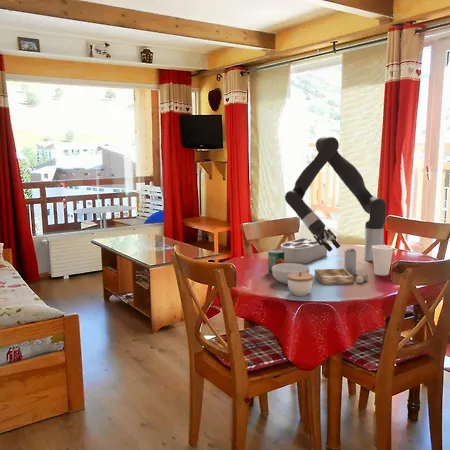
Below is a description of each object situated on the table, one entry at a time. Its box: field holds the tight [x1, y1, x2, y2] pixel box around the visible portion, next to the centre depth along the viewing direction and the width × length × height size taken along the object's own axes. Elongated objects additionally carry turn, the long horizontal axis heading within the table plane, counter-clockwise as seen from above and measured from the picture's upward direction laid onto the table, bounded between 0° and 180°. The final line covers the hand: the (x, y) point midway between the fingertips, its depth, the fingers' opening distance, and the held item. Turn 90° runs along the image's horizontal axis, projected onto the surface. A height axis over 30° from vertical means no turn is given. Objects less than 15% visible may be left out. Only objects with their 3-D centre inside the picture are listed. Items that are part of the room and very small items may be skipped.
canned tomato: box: [267, 248, 285, 276], centre depth 229 cm, size 8×8×11 cm
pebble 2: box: [360, 273, 369, 282], centre depth 212 cm, size 3×3×3 cm
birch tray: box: [314, 267, 354, 285], centre depth 216 cm, size 14×14×3 cm
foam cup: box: [372, 244, 394, 276], centre depth 223 cm, size 10×9×13 cm
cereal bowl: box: [271, 262, 310, 285], centre depth 213 cm, size 17×17×7 cm
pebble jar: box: [344, 247, 357, 276], centre depth 224 cm, size 5×5×13 cm
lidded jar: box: [287, 272, 314, 297], centre depth 196 cm, size 11×11×9 cm
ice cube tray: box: [280, 237, 329, 265], centre depth 258 cm, size 17×28×9 cm, turn 140°
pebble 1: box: [355, 275, 364, 284], centre depth 209 cm, size 3×3×3 cm
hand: (335, 248), depth 226 cm, fingers open, 8 cm apart
